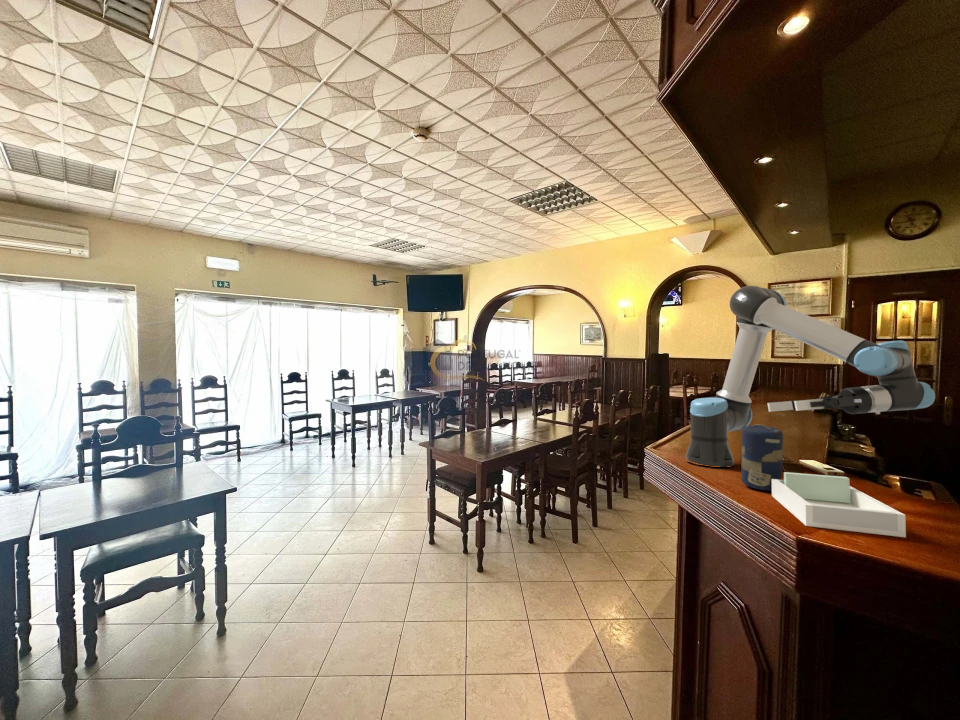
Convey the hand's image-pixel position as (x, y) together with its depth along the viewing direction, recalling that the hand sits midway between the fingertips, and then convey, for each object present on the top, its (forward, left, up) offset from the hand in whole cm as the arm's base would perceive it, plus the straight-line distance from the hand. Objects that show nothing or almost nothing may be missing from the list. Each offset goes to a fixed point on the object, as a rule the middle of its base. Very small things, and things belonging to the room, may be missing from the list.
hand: (781, 406), depth 116 cm
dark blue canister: (+5, -7, -23) cm, 24 cm away
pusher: (+16, +2, -22) cm, 27 cm away
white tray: (+23, +2, -23) cm, 33 cm away
